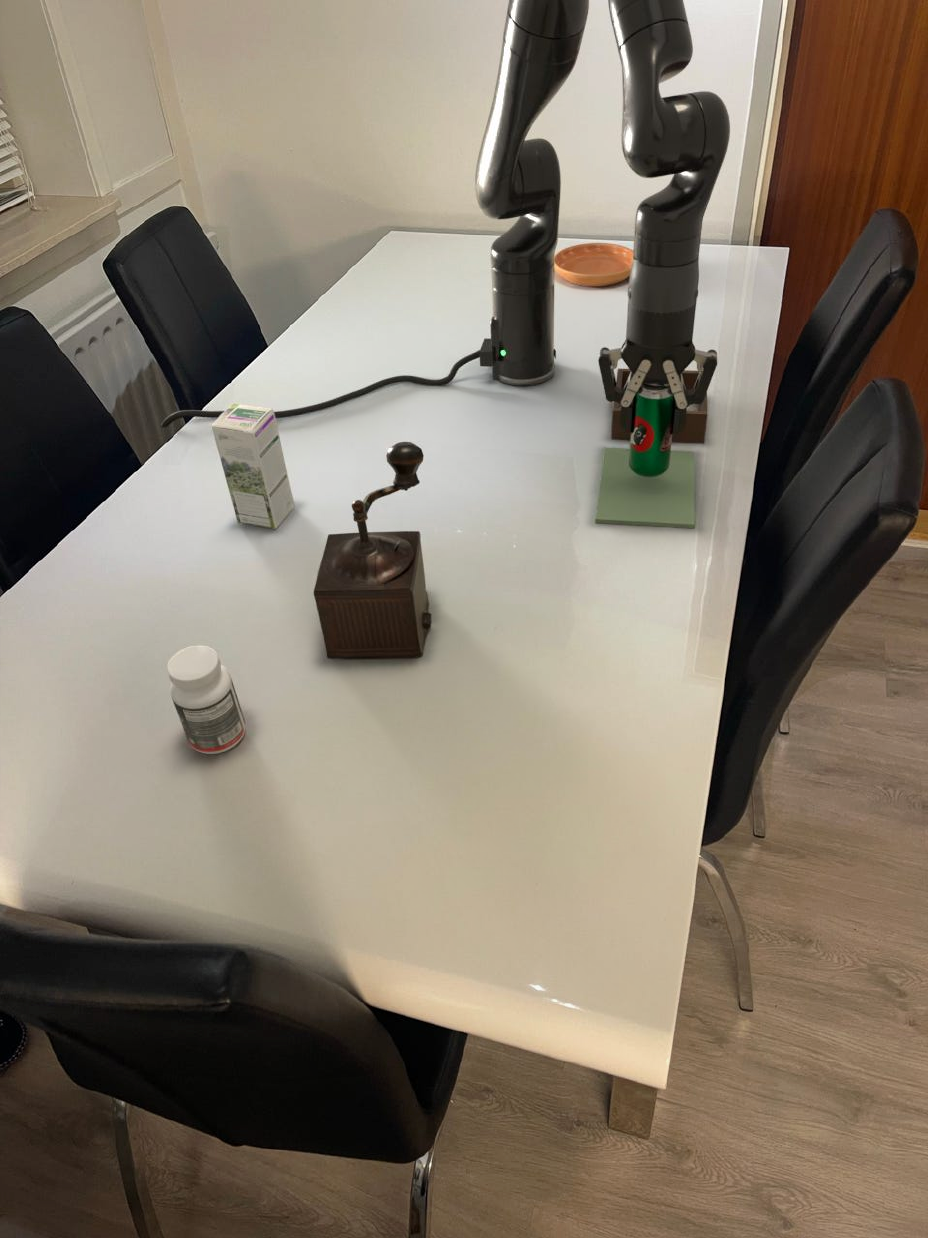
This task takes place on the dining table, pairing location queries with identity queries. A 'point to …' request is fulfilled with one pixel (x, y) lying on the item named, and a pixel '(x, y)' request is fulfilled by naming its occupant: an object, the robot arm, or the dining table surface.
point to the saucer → (594, 264)
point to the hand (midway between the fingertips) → (651, 430)
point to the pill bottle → (205, 700)
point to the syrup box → (254, 465)
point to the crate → (694, 419)
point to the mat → (647, 492)
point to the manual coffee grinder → (375, 580)
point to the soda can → (651, 429)
